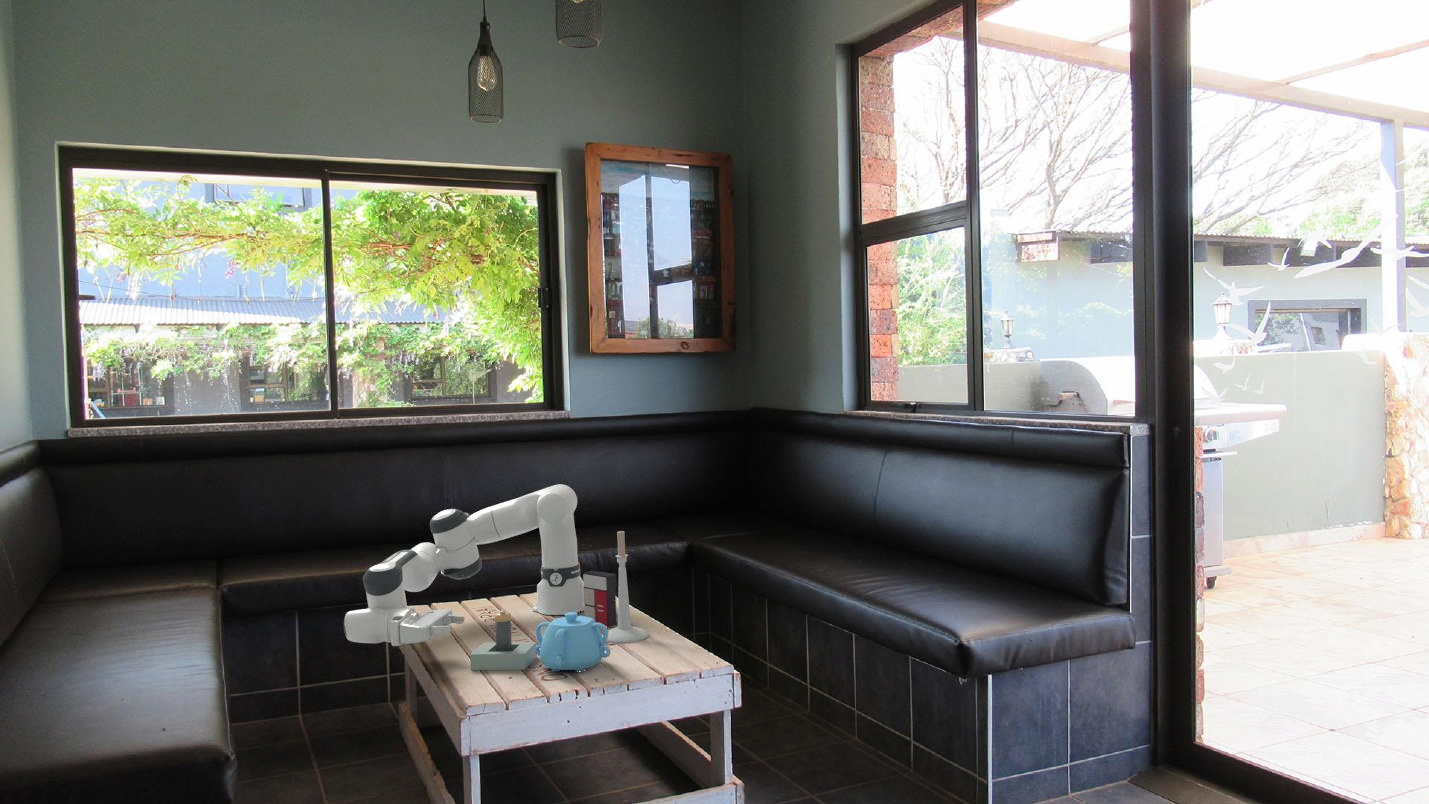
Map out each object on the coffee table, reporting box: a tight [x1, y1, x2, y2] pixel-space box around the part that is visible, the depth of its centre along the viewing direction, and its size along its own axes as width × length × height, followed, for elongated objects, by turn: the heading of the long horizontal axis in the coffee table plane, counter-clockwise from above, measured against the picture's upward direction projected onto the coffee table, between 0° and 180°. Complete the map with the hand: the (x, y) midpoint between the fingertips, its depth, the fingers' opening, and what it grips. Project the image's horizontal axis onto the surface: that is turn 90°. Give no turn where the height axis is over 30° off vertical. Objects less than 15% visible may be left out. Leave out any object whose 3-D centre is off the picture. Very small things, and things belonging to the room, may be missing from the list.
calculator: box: [582, 570, 618, 628], centre depth 293 cm, size 11×4×15 cm, turn 47°
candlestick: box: [602, 529, 649, 644], centre depth 277 cm, size 13×13×30 cm
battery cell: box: [494, 609, 513, 652], centre depth 256 cm, size 4×4×13 cm
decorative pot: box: [535, 612, 611, 673], centre depth 251 cm, size 16×16×14 cm
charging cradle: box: [469, 641, 538, 671], centre depth 256 cm, size 11×14×4 cm
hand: (457, 624), depth 257 cm, fingers open, 8 cm apart
